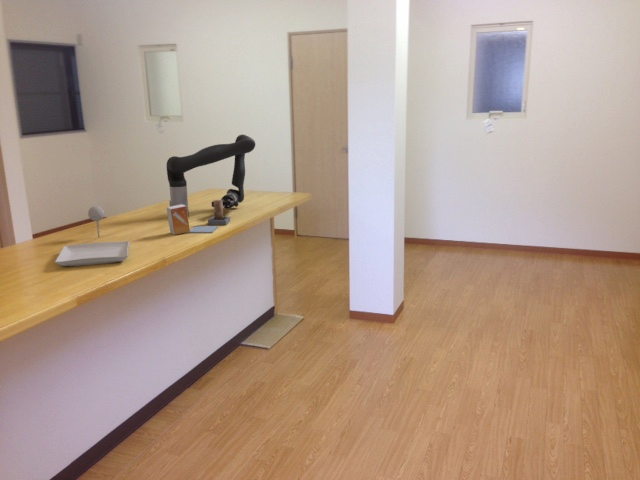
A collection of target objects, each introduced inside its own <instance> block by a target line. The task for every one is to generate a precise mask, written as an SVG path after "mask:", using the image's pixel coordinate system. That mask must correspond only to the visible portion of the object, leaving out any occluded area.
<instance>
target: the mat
mask: <svg viewBox="0 0 640 480" xmlns="http://www.w3.org/2000/svg"><path fill="white" fill-rule="evenodd" d="M218 228H219V225H205V226H204V225H202V226H201V225H198V226H197V225H196V226H193V227H192V228H191V229H190V232H187V233H188V234H212V233H215V231H216V230H218Z"/></svg>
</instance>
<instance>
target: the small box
mask: <svg viewBox="0 0 640 480" xmlns="http://www.w3.org/2000/svg"><path fill="white" fill-rule="evenodd" d="M166 213H167V219H168V225H169V231H170V234H172V235H174V236H176V235H180V234H184V233H188V232H190V230H191V229H190V224H189V223H190V222H189V216H188V214H187V208H186V206H185V205H183V204H181V205H175V206H171V207H170V206H167V207H166Z"/></svg>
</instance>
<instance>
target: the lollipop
mask: <svg viewBox="0 0 640 480" xmlns="http://www.w3.org/2000/svg"><path fill="white" fill-rule="evenodd" d="M87 215H88V218H89V220H92V221H93V222H96V229H97V237H98V238H100V229H99V227H100V226H99V221H101V220H103V218H104V217H105V211H104V209H103V208H102V207H101V206H98V205H96V206H95V205H94V206H91V207H90V208H89V209H88V212H87Z"/></svg>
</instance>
